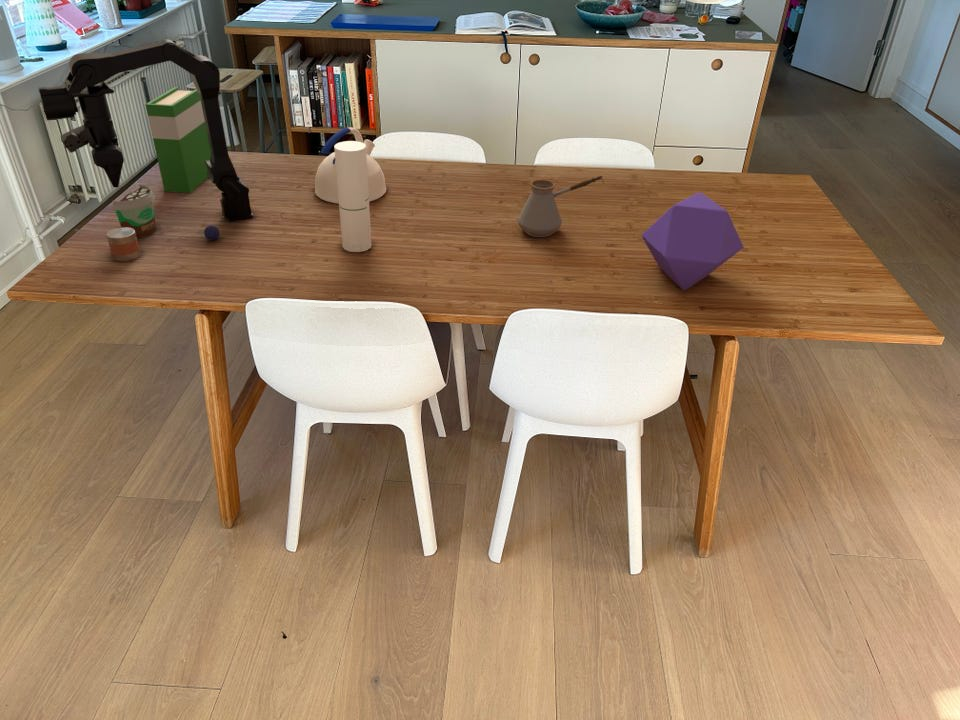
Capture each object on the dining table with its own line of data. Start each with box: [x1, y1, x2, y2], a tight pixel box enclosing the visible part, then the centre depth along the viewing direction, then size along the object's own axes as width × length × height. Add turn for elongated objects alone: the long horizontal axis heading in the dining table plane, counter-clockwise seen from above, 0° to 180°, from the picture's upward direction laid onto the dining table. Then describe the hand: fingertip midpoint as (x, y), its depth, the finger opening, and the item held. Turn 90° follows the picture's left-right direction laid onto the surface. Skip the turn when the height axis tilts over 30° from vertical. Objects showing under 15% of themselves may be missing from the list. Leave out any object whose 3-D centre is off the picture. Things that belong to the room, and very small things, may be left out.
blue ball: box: [203, 225, 220, 241], centre depth 183 cm, size 4×4×4 cm
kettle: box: [314, 127, 387, 205], centre depth 208 cm, size 20×21×18 cm
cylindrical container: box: [333, 140, 372, 253], centre depth 177 cm, size 7×7×25 cm
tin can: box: [106, 226, 141, 262], centre depth 174 cm, size 6×6×6 cm
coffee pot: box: [517, 175, 605, 238], centre depth 190 cm, size 21×12×15 cm, turn 94°
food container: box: [111, 183, 157, 239], centre depth 184 cm, size 12×6×10 cm, turn 168°
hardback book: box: [144, 86, 211, 194], centre depth 209 cm, size 18×7×24 cm, turn 174°
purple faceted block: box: [641, 191, 744, 291], centre depth 170 cm, size 22×20×20 cm
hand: (114, 180), depth 177 cm, fingers open, 9 cm apart
